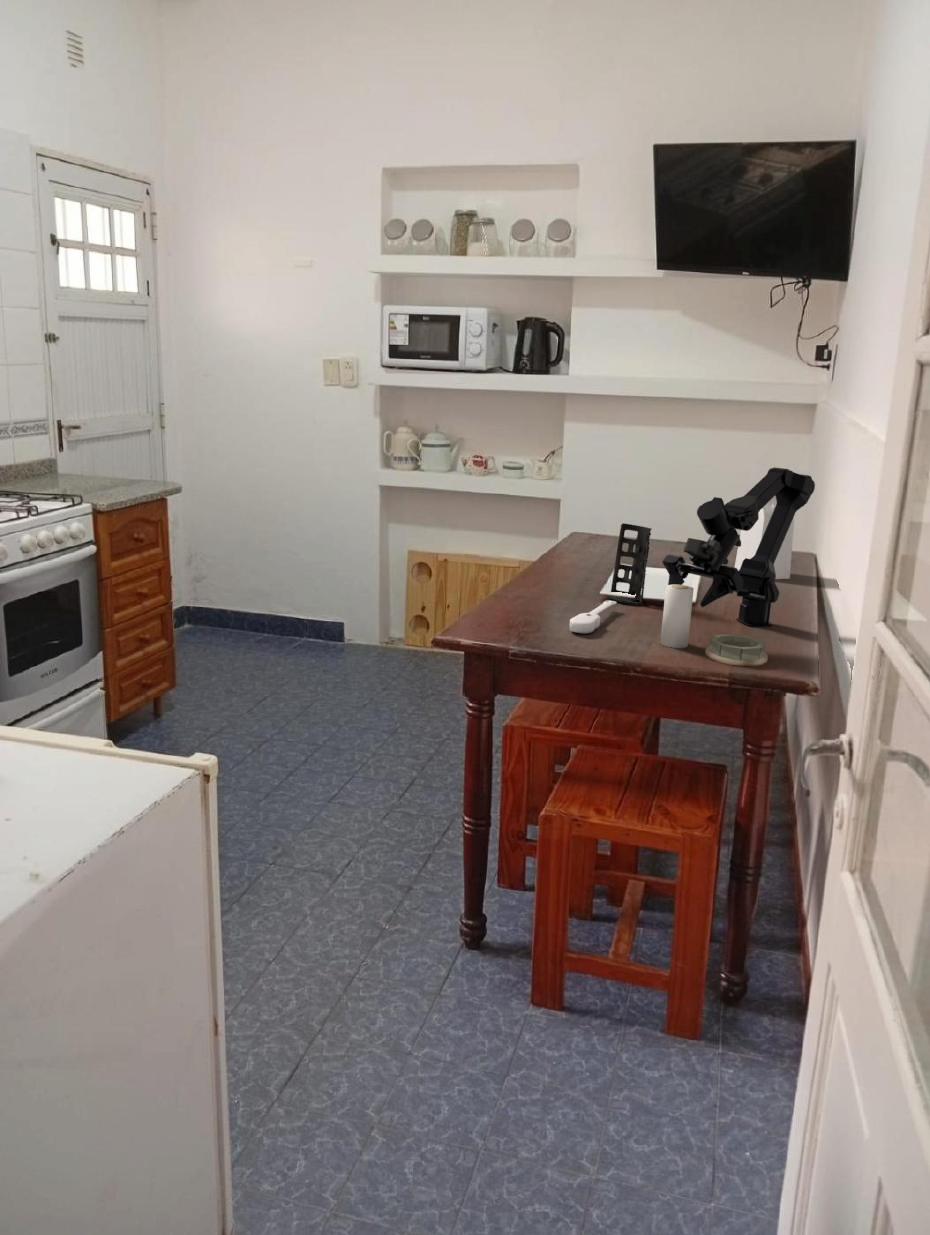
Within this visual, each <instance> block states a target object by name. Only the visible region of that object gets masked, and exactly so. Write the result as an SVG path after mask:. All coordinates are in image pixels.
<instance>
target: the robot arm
mask: <svg viewBox="0 0 930 1235" xmlns="http://www.w3.org/2000/svg"><path fill="white" fill-rule="evenodd" d="M815 487H816V483H815V481H814V479H813V478H812V476H811V475H808V474H802V473H801V474H800V473H797V472H794V471H793V470H790V469H789V468H781V467H771V468H769V469H768V471H767V473H766V475H764V476H763V478H761V479H760V481H758V482H757V483H756V484H755V485H753V487H752V488H751V489H750V490H749V491H747V493H745V495H743V496H740V497H736V498H732V499H731V500H729V501H727V503H724V500H723V498H722V497H716V496H714V497H713V498H712V499H711V500H708V501H706V502H704V503H702V504H701V505H699V506H698V508H697V509H696V516H697V517H698V519H699V521H700V524H701V525H702V527H703V529H704V531H705V533H706V534H708V536H709V537H708V539H707V540H706V541H705V540H702V539H698V538H691V537H688V538H687V540H686V543H685V546H684V549H683V552H684V553H687V554H689V561H690V562H692V564H691V563H690V564H689V563H686V561H685V558H684V557H683V556H680V555H674V554H667V555H666V556H665V557H664V558H663V560H662V561H661V563H662V564H663V567H664V568H665V570H666V571H667V573H668V583H667V585H684V583H685V580H684V579H686V578H688V576H689V574H690V575H696V576H700V577H703V578H707V579H712V583H711V585H710V587H709V588H708V590H707V591H706V593H705V594H704V596H703V597H702V599H701V601H700V603H699V604H700V607H702V608H704V607H706V606H708V605H709V604H712V603H713V602H715V601H716V600H718V599H720V598H722V597H725V596H727V595H730V594H731V595H732V594H734V592H736V596H737V597H741V603H740V604H739V611H738V612H739V613H738V617H735V618H736V621H738V622H741V623H742V624H745V625H746V626H747V627H760V626H761V627H764V626H766V627H767V626H773V622H771V621H770V616H771V610H772V609H771V607H772V603H776V602H778V599H779V597H780V591H779V588H778V587H777V585H776V582H775V580H776V579H775V578H776V573H775V568H774V562H775V560H776V557H777V555H778V553H779V550H780V548H781V546H782V543H783V541H784V539H785V536H786V534H787V531H788V529H789V527H790V524H791V522H792V520H793V517H794V518H795V516H796V513H797V512H798V511H799V510H800V509H801V508H803V507H804V506H805V505H807V504H808V501H809V500H810V498H811V496H812V495H813V494H814V491H815V489H816V488H815ZM774 496H776V501H777V504H776V507H775V509H774V511H773V514H772V516H771V518H770V521H769V523H768V525H767V528H766V530H765V532H764V535H763V537H762V539H761V542H760V544H759V546H758V549H757V551H756V553H755V555H754V556H753V557H752V558H751V559H747V558H745V559H744V560H743V562H742V565H741V568H740V570H739V571H738V569H737V568H734V567H735V566H734V567H733V566H728V563H729V559H728V557H729V555H730V553H731V552H732V551H733V549H734V547H737V548H738V547H740V546H741V540H740V534H739V533H738V531H737V530H739V531H741V530H744V531H749V530H750V529H751V528H752V527H753V526H754V524H755V523H756V522H757V520H758V519H759V511H760V510H761V509H762V508H763V507H764V506H765V505H766V504H767V503H768V502H769V501H770V500H771V499H772V498H773V497H774Z"/></svg>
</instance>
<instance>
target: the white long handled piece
mask: <svg viewBox="0 0 930 1235" xmlns="http://www.w3.org/2000/svg"><path fill="white" fill-rule="evenodd" d="M617 603H618V601H616V600H604V601H603V603H602V604H600V605H598V607H595V608H594V609H592V610H591V611H590V612H582V613H579V614H577V615H576V616H573V617H572V618H570V619H569V630H570V632H573V633H578V634H585V635H586V634H589V633H592V632H594V631H595V630H596V629H598V628H599V627H600V623H601V616H600V615H599V614H600V613H602V612H604V611H605V610H607V609H608V608H610V607H611V606H614V605H616V604H617Z"/></svg>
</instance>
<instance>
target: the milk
mask: <svg viewBox="0 0 930 1235" xmlns="http://www.w3.org/2000/svg"><path fill="white" fill-rule="evenodd" d="M776 504H777V501H776V496H774V497H773V498H772V499H771V500H770V501H769V502H768V503H767V504H766V505H765V506H764V507H763V508H762V509H761V510H760V511H759V519H758V520H757V522H756V523H755V524H754V526H753V527H752V528H751V529H750V530H749V531H744V530H740V534H739V535H740V540H741V546H740V547H738V546H737V551H736V556H735V557H736V558H735V563H734V568H737V569H738V571H739V570H740V568H741V565H742V562H743V560H744V559H745V558H747V559H751V558H752V557H753V556H754V555H755V553H756V551H757V549H758V546H759V544H760V542H761V539H762V537H763V535H764V532H765V530H766V528H767V525H768V523H769V521H770V518H771V516H772V514H773V511H774V509H775V507H776ZM794 526H795V516H794V517H793V520H792V522H791V524H790V527H789V529H788V531H787V534H786V536H785V539H784V541H783V543H782V546H781V548H780V550H779V553H778V555H777V557H776V560H775V562H774V568H775V573H776V578H775V580H782V579H783V580H785V579H787V580H789V579H791V564H792V550H793V542H794V541H793V540H794V530H795V529H794V528H795V527H794Z"/></svg>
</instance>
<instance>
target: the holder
mask: <svg viewBox="0 0 930 1235" xmlns="http://www.w3.org/2000/svg"><path fill="white" fill-rule="evenodd" d="M652 529H653V528H651V527H646V526H642V525H637V524H630V523H621V524H620V529H619V535H618V542H617V549H616V553H615V554H616V556H615V562H614V567H613V568H614V570H613V574H612V581H611V588H610V589H611V590H610V593H611V592H622V593H628V594H631V595H635V594H636V596H635V598H634V599H629V598H627V597H620V596H616V597H614V596H610V595H609V599H611V600H612V601H615V602H619V603H622V604H626V605H628V606H629V605H630V606H636V607H642V606H643V603H644V602H643V601H644V592H645V591H644V590H645V583H646V582H645V580H646V572H647V570H646V569H647V563H648V558H649V551H650V546H649V545H650V540H651V539H650V538H651V535H652V533H651V531H652ZM626 531H632V532H633V531H634V532H637V535H636V539H632V538H626V537H625V532H626ZM624 544H628V548H627V551H624V550H623V545H624ZM634 546H635V547H634ZM622 557H626V558H632V559H633V560H632V565H628V564H623V563H621V558H622ZM620 570H623V572H624V573H623V577H620V576H619V571H620ZM630 572H631V574H630ZM618 583H621V584H628V585H629V586H628V591H624V590H623V591H622V590H618V589H617V584H618ZM636 600H639V601H636ZM633 601H634V602H633Z"/></svg>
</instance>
